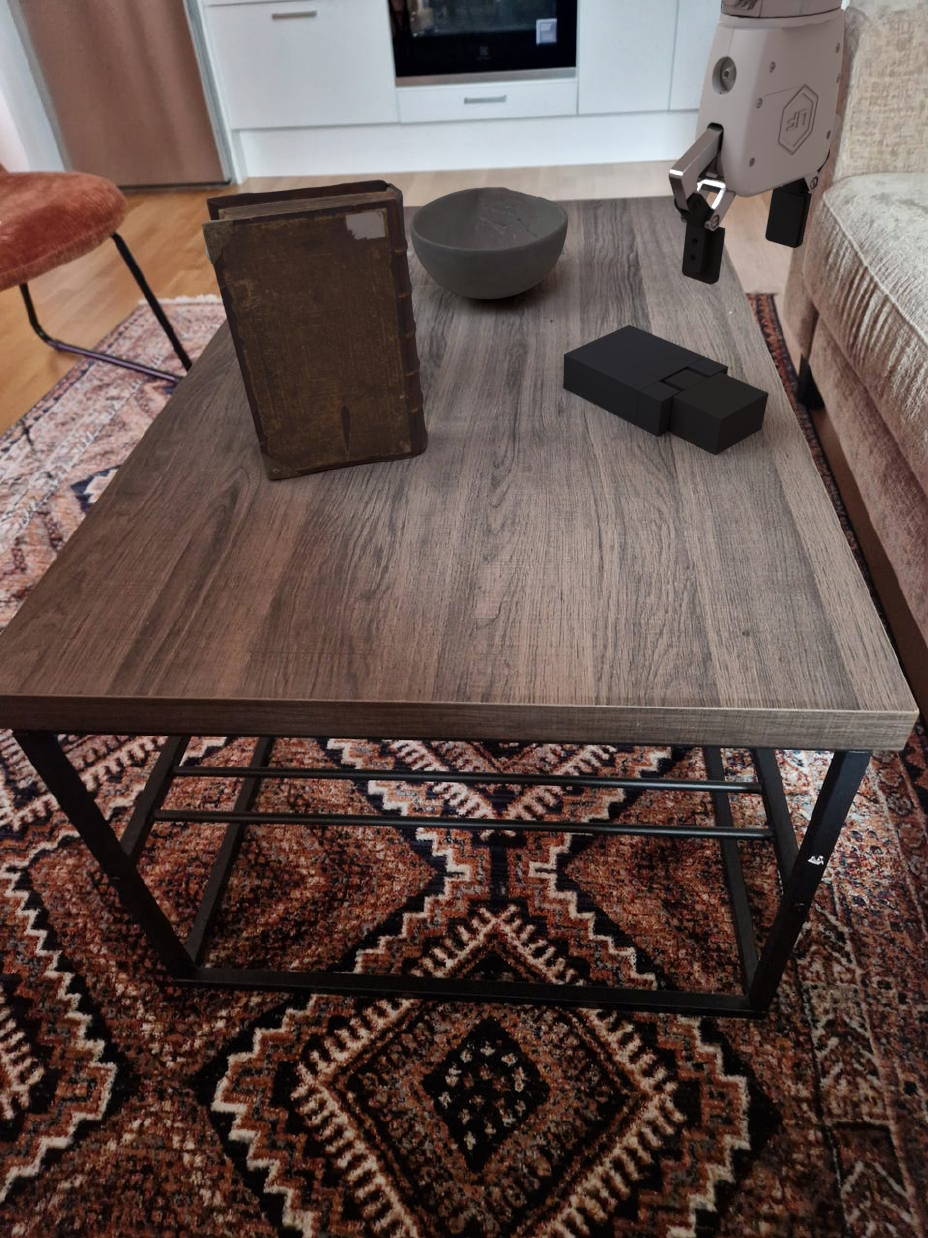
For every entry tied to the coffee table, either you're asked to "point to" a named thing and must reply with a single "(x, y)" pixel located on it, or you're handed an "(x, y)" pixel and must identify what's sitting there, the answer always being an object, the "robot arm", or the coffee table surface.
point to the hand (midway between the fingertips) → (742, 260)
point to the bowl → (489, 241)
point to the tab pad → (715, 410)
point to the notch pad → (633, 375)
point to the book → (321, 322)
